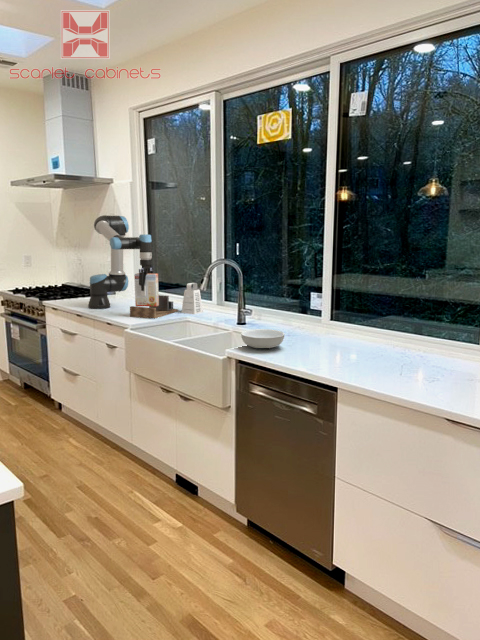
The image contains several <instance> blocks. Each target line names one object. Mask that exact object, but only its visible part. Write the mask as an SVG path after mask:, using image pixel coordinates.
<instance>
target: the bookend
mask: <svg viewBox="0 0 480 640" xmlns="http://www.w3.org/2000/svg"><path fill="white" fill-rule="evenodd" d="M148 308H156V310H161V311H169V310H172V309H174V301H173V300H171V301H170V298H169V295H162V294H159V305H158V306H156V307H150V306H148Z"/></svg>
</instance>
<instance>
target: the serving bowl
mask: <svg viewBox="0 0 480 640" xmlns="http://www.w3.org/2000/svg"><path fill="white" fill-rule="evenodd" d="M240 334H241V335H240V337H241V339H242V342H243V343H244V344H245V345H246V346H249V348H254V349H257V348H269V349H271V348H272V349H273V348H276V347H278V346H280V345H281V344H282V343H283V342H284V339H285V333H284V332H283V331H281V330H277V329H267V328H262V329H261V328H258V329H257V328H256V329H247V330H244V331H242V332H240Z"/></svg>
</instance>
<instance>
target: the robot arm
mask: <svg viewBox="0 0 480 640" xmlns="http://www.w3.org/2000/svg"><path fill="white" fill-rule="evenodd" d="M93 227H94V230H95V232H97V234H100V235H102V236H103V237H104V238H105V239H107V241H108V242H109V245H110V246H109V247H110V271H109V272H108V274H106V273H100V274H93V275H91V276H90V277H89V294H90V297H89V301H88V306H87V307H88V308H89V309H96V310H97V309H99V310H102V309H109V308H110V307H111V303H110V300H109V297H108V293H111V292H112V293H115V292H116V293H117V292H125V291H126V290H128V287H129V278H128V275H126V272H124V250H139V259H140V260H139V265H140V266H141V268H139V269H138V273H139V285H140V286H141V295H142V296H146V286H145V280H146V275H147V274H154V268H153V267H151V266H153V259H152V258H153V257H152V256H153V254H152V253H153V252H152V250H153V249H152V247H153V245H152V235H151V234H139V237H138V236H136V237H135V236H134V237H133V236H131V237H129V236H128V237H126V233H128V232H129V229H130V228H129V221H128V219H127V218H126V217H125V216H122V215H100V216H98V217H97V218H96V219H95V220H94V221H93Z"/></svg>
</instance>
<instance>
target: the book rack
mask: <svg viewBox="0 0 480 640" xmlns="http://www.w3.org/2000/svg"><path fill="white" fill-rule="evenodd" d="M177 312H179V309H178V308H173V309H172V310H169V311H161V310H156V308H149V306H136V305H134V306H129V317H130V318H139V317H140V318H143V319H151V318H154V319H153V320H156V319H158V317H159V318H161V317H165V316H168V315H171V314H174V313H177ZM140 318H139V319H140ZM155 318H156V319H155Z"/></svg>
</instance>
